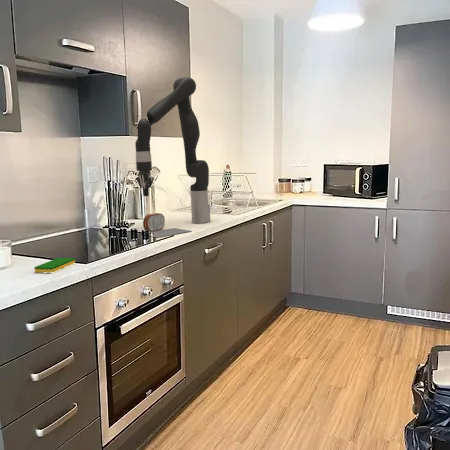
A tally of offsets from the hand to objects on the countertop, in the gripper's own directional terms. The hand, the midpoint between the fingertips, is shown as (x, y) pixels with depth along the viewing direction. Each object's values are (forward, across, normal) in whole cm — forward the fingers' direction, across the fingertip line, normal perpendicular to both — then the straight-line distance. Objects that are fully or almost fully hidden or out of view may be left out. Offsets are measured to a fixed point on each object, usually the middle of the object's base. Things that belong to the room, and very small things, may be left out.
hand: (145, 196), depth 233 cm
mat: (+17, -16, 0) cm, 23 cm away
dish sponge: (+18, -40, +64) cm, 78 cm away
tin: (+17, -6, 0) cm, 18 cm away
